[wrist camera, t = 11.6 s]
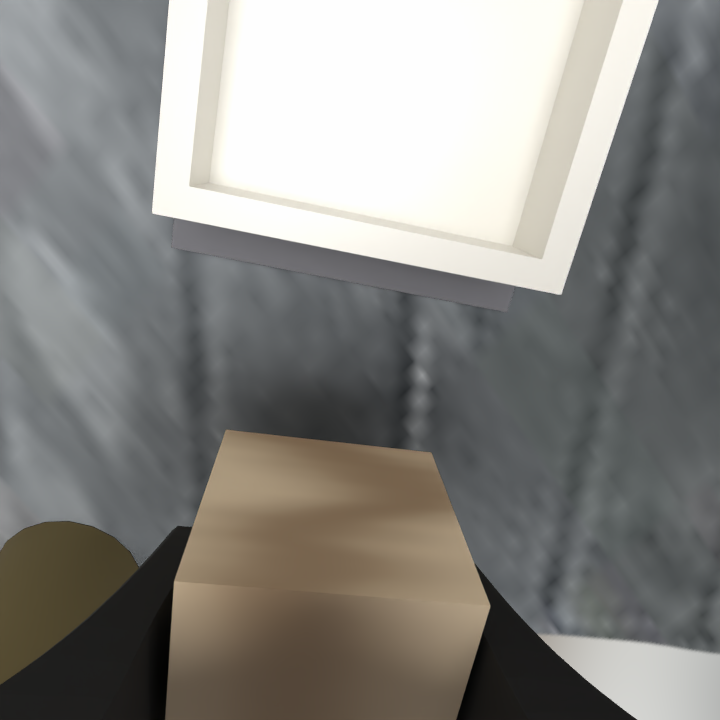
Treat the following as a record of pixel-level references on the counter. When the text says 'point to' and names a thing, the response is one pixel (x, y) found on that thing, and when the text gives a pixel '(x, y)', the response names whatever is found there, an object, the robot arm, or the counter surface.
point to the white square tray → (398, 125)
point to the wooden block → (323, 588)
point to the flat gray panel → (340, 265)
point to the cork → (54, 586)
